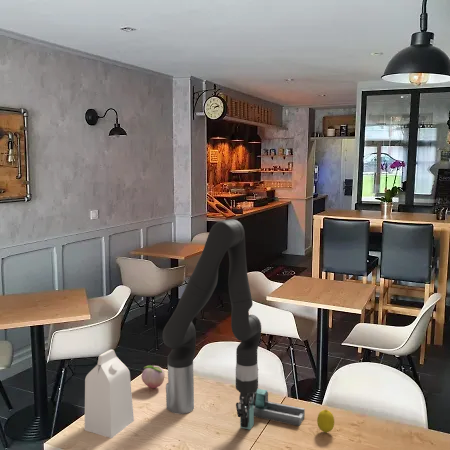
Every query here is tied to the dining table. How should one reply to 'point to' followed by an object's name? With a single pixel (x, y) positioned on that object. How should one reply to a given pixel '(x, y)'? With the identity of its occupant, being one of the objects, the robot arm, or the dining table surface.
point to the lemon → (325, 421)
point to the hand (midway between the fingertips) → (246, 423)
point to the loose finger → (249, 417)
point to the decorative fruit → (153, 376)
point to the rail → (277, 410)
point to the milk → (108, 396)
